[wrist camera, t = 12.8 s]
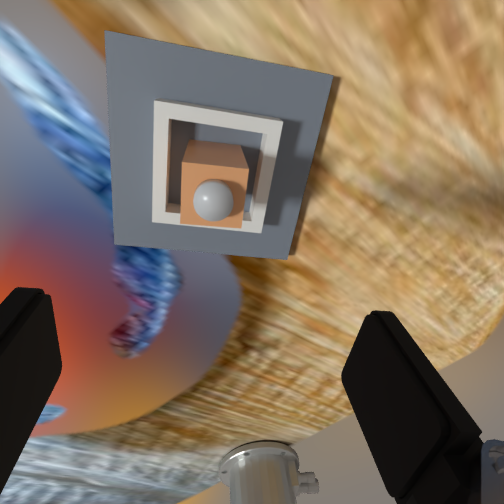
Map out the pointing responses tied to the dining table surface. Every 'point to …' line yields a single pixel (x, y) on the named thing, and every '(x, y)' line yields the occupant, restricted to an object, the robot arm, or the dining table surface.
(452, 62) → the dining table surface
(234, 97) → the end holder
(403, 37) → the dining table surface
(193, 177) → the connector plug
